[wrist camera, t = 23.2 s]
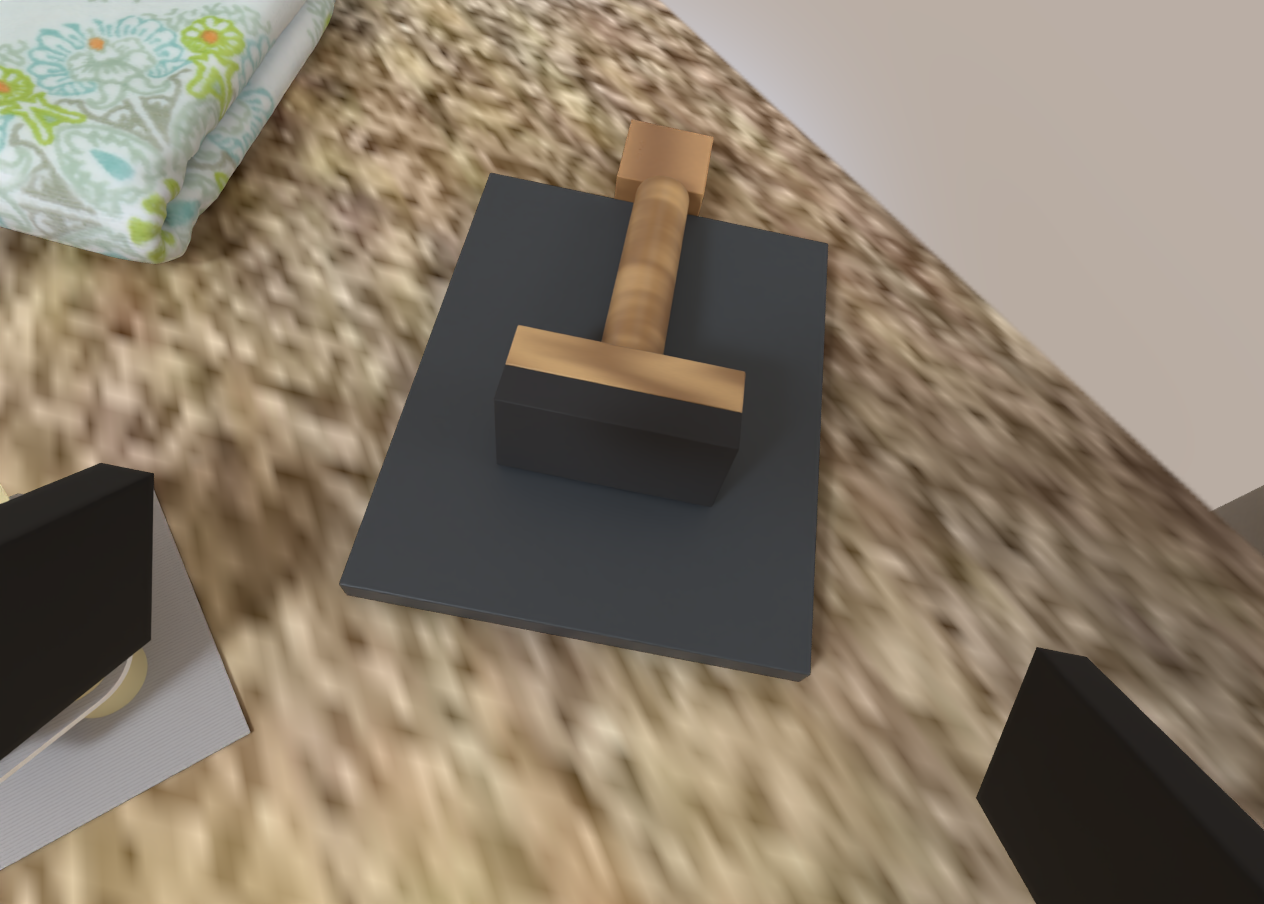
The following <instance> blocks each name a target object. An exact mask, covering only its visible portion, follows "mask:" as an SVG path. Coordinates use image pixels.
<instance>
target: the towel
mask: <svg viewBox="0 0 1264 904" xmlns="http://www.w3.org/2000/svg"><path fill="white" fill-rule="evenodd" d="M334 3H335V0H0V227H3V228H7V229H11V230H14V231H18V232H21V233H25V234H28V235H32V236H35V237H39V238H43V239H46V240H50V241H54V242H58V243H61V244H65V245H69V246H73V247H76V248H80V249H84V250H87V251H92V252H96V253H100V254H103V255H106V256H110V257H115V258H119V259H125V260H130V261H137V262H142V263H143V262H145V263H150V264H159V263H165V262H168V261H171V260H174V259H176V258H179V257H181V256H182V255H183V254H184V253H185V252H186V250H187V247H188V245H189V243H190V240H191V233H192V228H193V226H194V225H195V224H196V222H197V219H198V217H199V215H201V214H202V213H203V212H204V211H205V210H206V209H207V208H208V207H209V206H210V205H211V204H212V203H213V202H214V201H215V200H216V199H217V198H218V196H219V194H220V193H221V191H222V190H223V189H224V187H225V185H226V183H227V182H228V180H229V178H230V177H231V176H232V174H233V172H234V171H235V170H236V168H237V167H238V165H239V164H240V163H241V161H242V159H243V158H244V155H245V154H246V152H247V151H248V149H249V148H250V146H251V145H252V143H253V142H254V141H255V139H256V138H257V136H258V135H259V133H260V132H261V130H262V128H263V127H264V125H265V124H266V122H267V121H268V119H269V118H270V116H271V115H272V113H273V111H274V109H275V108H276V107H277V105H278V104H279V102H280V100H281V99H282V97H283V95H284V94H285V92H286V91H287V89H288V88H289V86H290V85H291V83H292V81H293V80H294V79H295V77H296V76H297V74H298V72H299V71H300V69H301V68H302V66H303V65H304V64H305V62H306V60H307V59H308V57H309V55H310V54H311V53H312V51H313V50H314V48H315V47H316V45H317V44H318V42H319V40H320V38H321V36H322V34H323V33H324V31H325V29H326V27H327V26H328V24H329V21H330V18H331V16H332V14H333V10H334Z"/></svg>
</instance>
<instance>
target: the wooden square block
mask: <svg viewBox="0 0 1264 904" xmlns="http://www.w3.org/2000/svg"><path fill="white" fill-rule="evenodd" d="M712 144H713V137H711V136H707V135H702V134H697V133H693V132H688V131H684V130H679V129H674V128H670V127H665V126H661V125H656V124H651V123H647V122H642V121H638V120H631V123H630V127H629V131H628V135H627V139H626V143H625V147H624V151H623V155H622V159H621V163H620V166H619V170H618V174H617V180H616V188H615V196H614V199H618V200H623V201H628V202H633V203H634V199H635V195H636V191H637V188H638V187H639V185H640V184H641V183H642V182H643V181H644V180H646V179H648V178H650V177H653V176H668V177H671V178H674V179H676V180H677V181H679V182H680V183H681V184H682V185H683V186H684V187H685V189H686V190H687V192H688V195H689V207H688V213H687V214H690V215H694V216H699V212H700V208H701V204H702V201H703V197H704V192H705V186H706V180H707V174H708V168H709V162H710V156H711V150H712Z"/></svg>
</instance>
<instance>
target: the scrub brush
mask: <svg viewBox="0 0 1264 904" xmlns="http://www.w3.org/2000/svg"><path fill="white" fill-rule="evenodd" d="M688 207H689V195H688V192H687V190H686V189H685V187H684V186H683V185H682V184H681V183H680V182H679V181H677V180H676V179H674V178H671V177H668V176H653V177H650V178H648V179H646V180H644V181H643V182H642V183H641V184H640V185H639V187H638V188H637V191H636V195H635V199H634V204H633V208H632V212H631V216H630V221H629V225H628V229H627V233H626V238H625V242H624V246H623V251H622V255H621V259H620V263H619V268H618V272H617V276H616V280H615V285H614V289H613V293H612V298H611V302H610V306H609V310H608V315H607V319H606V323H605V328H604V332H603V336H602V340H601V342H599V341H594V340H590V339H585V338H580V337H575V336H570V335H565V334H561V333H556V332H551V331H546V330H541V329H536V328H531V327H527V326H522V325H518V327H517V329H516V332H515V335H514V339H513V342H512V345H511V348H510V351H509V354H508V357H507V360H506V365H505V366H504V369H503V372H502V375H501V378H500V382H499V385H498V388H497V391H496V394H495V397H494V415H495V440H496V463H497V464H498V465H503V466H508V467H513V468H518V469H523V470H528V471H533V472H538V473H543V474H548V475H553V476H558V477H563V478H568V479H573V480H578V481H583V482H588V483H593V484H598V485H603V486H608V487H613V488H618V489H623V490H628V491H633V492H637V493H642V494H647V495H652V496H657V497H662V498H667V499H672V500H677V501H682V502H687V503H692V504H697V505H702V506H707V507H712V505H713V503H714V501H715V499H716V497H717V495H718V493H719V491H720V489H721V486H722V484H723V482H724V480H725V478H726V476H727V474H728V472H729V470H730V467H731V465H732V463H733V461H734V459H735V457H736V455H737V453H738V451H739V446H740V434H741V423H742V410H743V398H744V387H745V375H746V374H745V372H744V371H740V370H735V369H730V368H725V367H720V366H715V365H711V364H706V363H701V362H696V361H691V360H686V359H682V358H677V357H672V356H667V355H663V354H664V348H665V342H666V336H667V330H668V325H669V319H670V313H671V307H672V301H673V295H674V289H675V283H676V277H677V271H678V266H679V260H680V254H681V248H682V242H683V236H684V230H685V224H686V218H687V213H688Z"/></svg>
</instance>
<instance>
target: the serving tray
mask: <svg viewBox="0 0 1264 904" xmlns="http://www.w3.org/2000/svg"><path fill="white" fill-rule="evenodd" d="M633 204H634V203H633V202H628V201H623V200H618V199H614V198H609V197H604V196H599V195H595V194H590V193H585V192H580V191H576V190H571V189H566V188H561V187H557V186H552V185H547V184H542V183H538V182H533V181H528V180H523V179H519V178H514V177H509V176H504V175H500V174H495V173H490V175H489V177H488V180H487V183H486V186H485V188H484V191H483V194H482V197H481V199H480V202H479V205H478V207H477V210H476V213H475V216H474V218H473V221H472V224H471V226H470V229H469V232H468V235H467V237H466V240H465V243H464V245H463V248H462V251H461V254H460V256H459V259H458V262H457V264H456V267H455V270H454V273H453V275H452V278H451V281H450V284H449V286H448V289H447V292H446V294H445V297H444V300H443V303H442V305H441V308H440V311H439V313H438V316H437V319H436V322H435V324H434V327H433V330H432V332H431V335H430V338H429V341H428V343H427V346H426V349H425V351H424V354H423V357H422V360H421V362H420V365H419V368H418V371H417V373H416V376H415V379H414V381H413V384H412V387H411V390H410V392H409V395H408V398H407V400H406V403H405V406H404V409H403V411H402V414H401V417H400V419H399V422H398V425H397V428H396V430H395V433H394V436H393V438H392V441H391V444H390V447H389V449H388V452H387V455H386V457H385V460H384V463H383V466H382V468H381V471H380V474H379V477H378V479H377V482H376V485H375V487H374V490H373V493H372V496H371V498H370V501H369V504H368V506H367V509H366V512H365V515H364V517H363V520H362V523H361V525H360V528H359V531H358V534H357V536H356V539H355V542H354V544H353V547H352V550H351V553H350V555H349V558H348V561H347V564H346V566H345V569H344V572H343V574H342V577H341V580H340V583H339V585H340V586H341V588H342V589H343V590H344V592H345V593H346V594H347V595H349V596H355V597H360V598H365V599H370V600H376V601H381V602H386V603H391V604H396V605H402V606H407V607H412V608H417V609H422V610H428V611H433V612H438V613H443V614H448V615H454V616H459V617H464V618H469V619H474V620H480V621H485V622H490V623H495V624H501V625H506V626H511V627H516V628H521V629H527V630H532V631H537V632H542V633H547V634H553V635H558V636H563V637H568V638H573V639H579V640H584V641H589V642H594V643H599V644H605V645H610V646H615V647H620V648H625V649H631V650H636V651H641V652H646V653H652V654H657V655H662V656H667V657H672V658H678V659H683V660H688V661H693V662H698V663H704V664H709V665H714V666H719V667H724V668H730V669H735V670H740V671H745V672H750V673H756V674H761V675H766V676H771V677H777V678H782V679H787V680H792V681H797V682H799V681H801V680H803V679H804V678H806V677H808V676H809V675H810V673H811V649H812V624H813V600H814V576H815V552H816V527H817V503H818V479H819V455H820V431H821V406H822V382H823V358H824V334H825V309H826V285H827V261H828V244H827V243H823V242H818V241H813V240H808V239H804V238H799V237H794V236H789V235H785V234H780V233H775V232H770V231H766V230H761V229H756V228H751V227H747V226H742V225H737V224H732V223H728V222H723V221H718V220H713V219H709V218H704V217H699V216H694V215H690V214H687V218H686V224H685V230H684V236H683V242H682V248H681V254H680V260H679V266H678V271H677V277H676V283H675V289H674V295H673V301H672V307H671V313H670V319H669V325H668V330H667V336H666V342H665V348H664V354H663V355H667V356H672V357H677V358H682V359H686V360H691V361H696V362H701V363H706V364H711V365H715V366H720V367H725V368H730V369H735V370H740V371H744V372H745V374H746V375H745V387H744V398H743V410H742V423H741V434H740V446H739V451H738V453H737V455H736V457H735V459H734V461H733V463H732V465H731V467H730V470H729V472H728V474H727V476H726V478H725V480H724V482H723V484H722V486H721V489H720V491H719V493H718V495H717V497H716V499H715V501H714V503H713V505H712V507H707V506H702V505H697V504H692V503H687V502H682V501H677V500H672V499H667V498H662V497H657V496H652V495H647V494H642V493H637V492H633V491H628V490H623V489H618V488H613V487H608V486H603V485H598V484H593V483H588V482H583V481H578V480H573V479H568V478H563V477H558V476H553V475H548V474H543V473H538V472H533V471H528V470H523V469H518V468H513V467H508V466H503V465H498V464H497V463H496V440H495V415H494V397H495V394H496V391H497V388H498V385H499V382H500V378H501V375H502V372H503V369H504V366H505V365H506V360H507V357H508V354H509V351H510V348H511V345H512V342H513V339H514V335H515V332H516V329H517V327H518V325H522V326H527V327H531V328H536V329H541V330H546V331H551V332H556V333H561V334H565V335H570V336H575V337H580V338H585V339H590V340H594V341H599V342H601V340H602V336H603V332H604V328H605V323H606V319H607V315H608V310H609V306H610V302H611V298H612V293H613V289H614V285H615V280H616V276H617V272H618V268H619V263H620V259H621V255H622V251H623V246H624V242H625V238H626V233H627V229H628V225H629V221H630V216H631V212H632V208H633Z"/></svg>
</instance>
